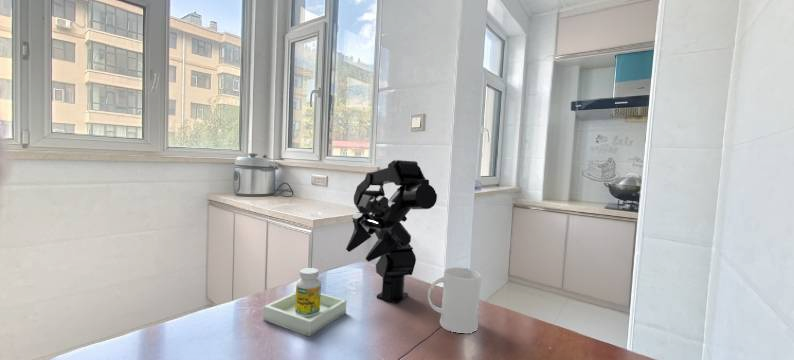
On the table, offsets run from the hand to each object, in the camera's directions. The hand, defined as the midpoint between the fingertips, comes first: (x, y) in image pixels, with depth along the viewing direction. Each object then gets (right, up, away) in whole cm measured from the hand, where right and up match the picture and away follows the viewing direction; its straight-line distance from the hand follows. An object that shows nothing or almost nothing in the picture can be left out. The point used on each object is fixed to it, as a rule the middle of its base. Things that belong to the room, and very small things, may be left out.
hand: (356, 255), depth 78 cm
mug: (+22, -15, -2) cm, 27 cm away
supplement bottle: (-11, -13, -3) cm, 17 cm away
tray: (-11, -13, -3) cm, 17 cm away
